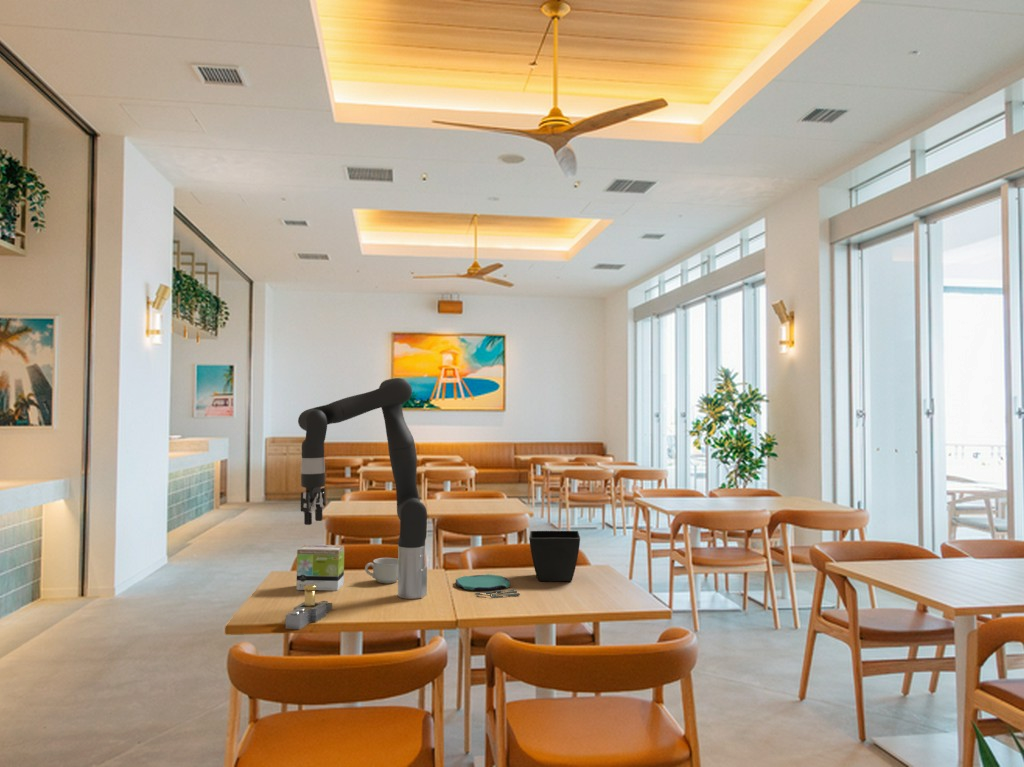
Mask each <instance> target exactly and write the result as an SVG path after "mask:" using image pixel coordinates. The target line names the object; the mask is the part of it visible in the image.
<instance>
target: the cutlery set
mask: <svg viewBox="0 0 1024 767" xmlns="http://www.w3.org/2000/svg"><path fill="white" fill-rule="evenodd" d="M455 585H456V586H458V587H460V588H463V589H464V590H465V591H474V590H479V591H480V590H481V591H483V592H474V595H481V596H483V595H482V594H480V593H486V594H492V596H491V595H488V596H490V597H491V598H494V597H496V598H504V597H503V596H512V597H517V596H516V595H520V596H521V593H519V592H518V591H517V590H515V589H509V590H507V591H506V590H499V588H504V587H505V588H507V589H508V588H509V587H510V586H511V581H510V579H509V578H507V577H505V576H502V575H498V574H488V573H487V574H476V575H469V576H468V575H463V576H460V577H457V578H456V579H455ZM496 589H498V590H496ZM484 590H494V592H495V593H492V592H493V591H484ZM496 592H497V593H496ZM498 592H500V593H498ZM495 594H499V595H495ZM494 599H495V598H494Z"/></svg>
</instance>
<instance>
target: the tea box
mask: <svg viewBox="0 0 1024 767" xmlns="http://www.w3.org/2000/svg"><path fill="white" fill-rule="evenodd" d="M344 577H345V545H340V544H339V545H338V544H337V545H336V544H329V545H327V544H323V545H322V544H304V545H303V546H301V547H300V548H298V549H297V551H296V591H305V590H304V585H309V584H314V585H316V589H315V591H331V592H338V591H339V590H340V589H341V587H343V585H344V579H345V578H344Z"/></svg>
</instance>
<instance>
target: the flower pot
mask: <svg viewBox="0 0 1024 767" xmlns="http://www.w3.org/2000/svg"><path fill="white" fill-rule="evenodd" d="M528 540H529V547H530V553H531V559H532V563H533V568H534V572H535V576H536V579H537V581H538V580H539V582H571V581H573V578H574V574H575V570H576V567H577V562H578V557H579V551H580V543H581V536H580V533H579V531H578V530H530V532H529V539H528Z"/></svg>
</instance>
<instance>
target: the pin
mask: <svg viewBox="0 0 1024 767" xmlns="http://www.w3.org/2000/svg"><path fill="white" fill-rule="evenodd" d="M315 589H316V585H314V584H309V585H304V590H303V591H304V602H305V607H315V602H316V590H315Z"/></svg>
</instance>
